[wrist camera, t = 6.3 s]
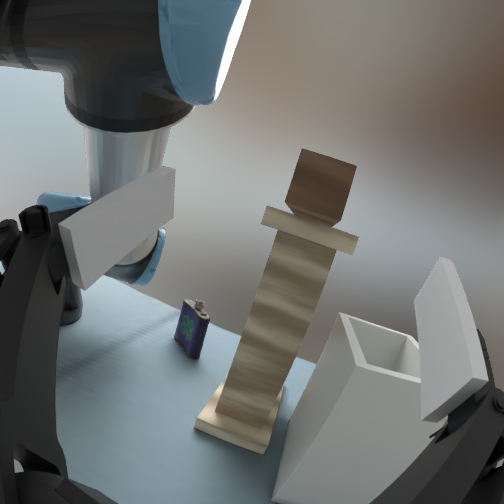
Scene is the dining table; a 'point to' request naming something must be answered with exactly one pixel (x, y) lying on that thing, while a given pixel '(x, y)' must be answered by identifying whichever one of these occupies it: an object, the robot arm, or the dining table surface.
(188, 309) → the flask
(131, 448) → the dining table surface
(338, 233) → the birch pedestal
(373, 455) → the white open box
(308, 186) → the walnut block
